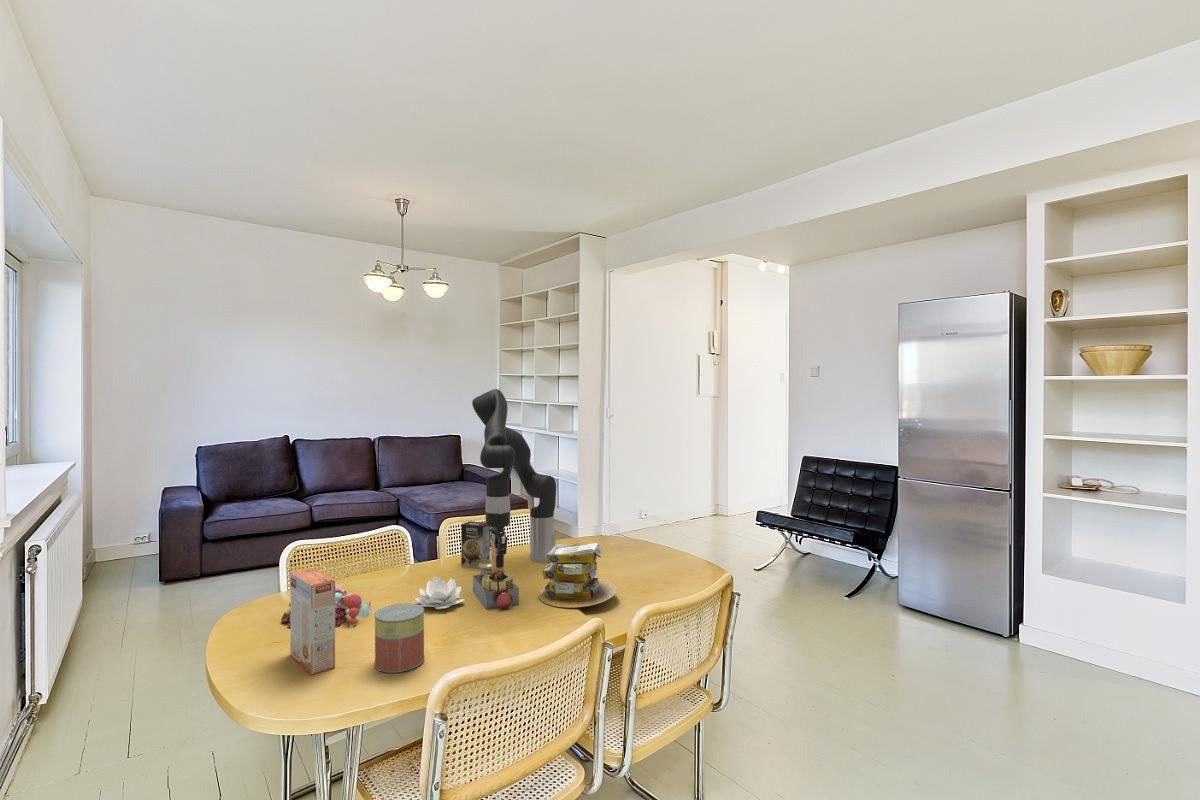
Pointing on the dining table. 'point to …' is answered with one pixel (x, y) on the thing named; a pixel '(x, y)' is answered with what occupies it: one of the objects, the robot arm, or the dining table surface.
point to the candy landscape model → (341, 608)
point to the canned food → (399, 637)
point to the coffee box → (474, 544)
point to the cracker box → (313, 620)
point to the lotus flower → (440, 594)
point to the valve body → (495, 588)
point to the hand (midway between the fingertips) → (497, 564)
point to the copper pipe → (495, 572)
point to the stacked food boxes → (574, 577)
